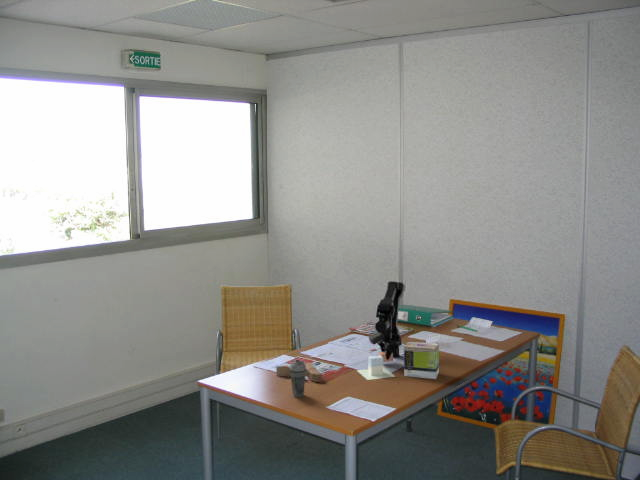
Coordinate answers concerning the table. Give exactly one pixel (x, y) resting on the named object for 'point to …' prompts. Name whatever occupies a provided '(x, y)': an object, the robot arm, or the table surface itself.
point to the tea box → (421, 360)
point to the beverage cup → (298, 377)
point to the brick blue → (375, 361)
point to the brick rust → (385, 356)
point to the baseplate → (370, 377)
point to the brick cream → (375, 370)
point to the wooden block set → (310, 373)
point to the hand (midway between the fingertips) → (385, 358)
